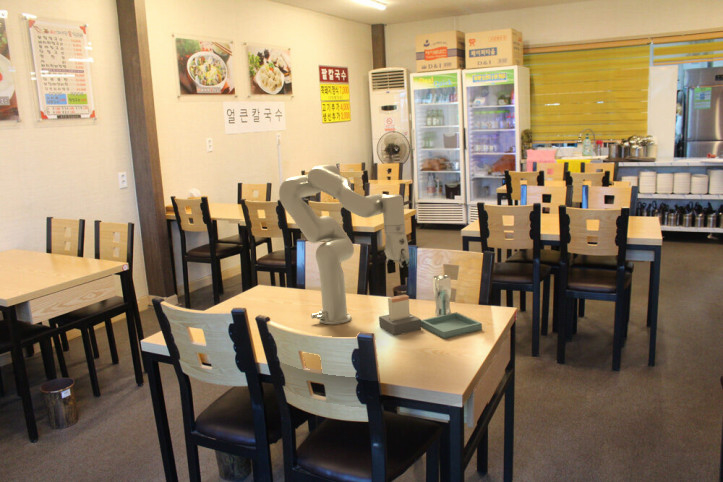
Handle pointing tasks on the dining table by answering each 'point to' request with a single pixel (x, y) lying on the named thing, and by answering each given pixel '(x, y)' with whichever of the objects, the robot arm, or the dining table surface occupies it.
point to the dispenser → (400, 324)
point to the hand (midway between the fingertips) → (397, 275)
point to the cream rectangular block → (398, 307)
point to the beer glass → (442, 294)
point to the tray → (451, 325)
